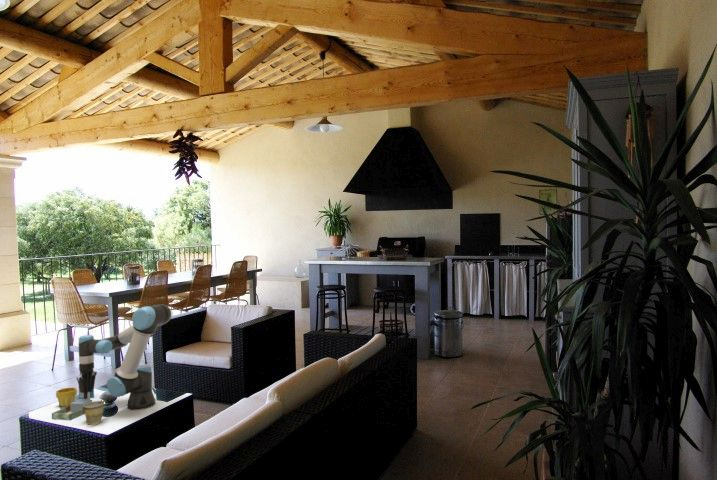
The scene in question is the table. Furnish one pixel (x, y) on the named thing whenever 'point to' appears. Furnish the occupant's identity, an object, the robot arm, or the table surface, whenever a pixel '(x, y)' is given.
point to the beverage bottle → (81, 395)
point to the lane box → (67, 414)
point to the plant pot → (66, 396)
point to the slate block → (78, 404)
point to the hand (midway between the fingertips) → (87, 403)
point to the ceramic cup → (94, 411)
